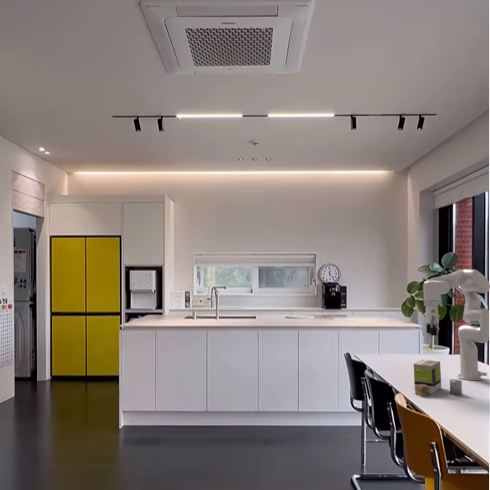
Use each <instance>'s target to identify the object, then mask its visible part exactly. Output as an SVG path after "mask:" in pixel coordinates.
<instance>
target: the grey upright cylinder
mask: <svg viewBox="0 0 490 490" xmlns="http://www.w3.org/2000/svg"><path fill="white" fill-rule="evenodd" d="M462 383H463V382H462V379H455V378H452V379H449V390H450V391H449V393H450V395H452V396H462V395H463V391H462V390H463V387H462V386H463V385H462Z"/></svg>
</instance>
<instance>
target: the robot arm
mask: <svg viewBox="0 0 490 490" xmlns="http://www.w3.org/2000/svg"><path fill="white" fill-rule="evenodd" d="M422 287H423V306H424V307H425V322H426V334H430V336H438V329H437V328H438V327H437V325H439V311H438V307H439V295H445V294H448V293H449V292H450V290H451V289H456V288H458V287H460V290H461V291H462V294H463V296H464V298H465V303H464V308H463V315H462V320H463V321H464V322H465V323H467V324H462V325H460V326H459V327H458V329H457V335H458V341H459V357H460V358H459V361H460V374H459V373H458V375H457V377H458V378H459V379H460V380H467V381H481V380H482V376H483V377H488V373H487V372H482V371H479V361H478V359H479V358H478V357H479V356H478V354H479V353H478V346H477V345H476V343H481V344H485V343H488V341H489V340H490V337H489V311H490V310H489V309H487V308H481V305H482V304H481V303H482V301H481V298H480V297H479V295H478V294H486V293H488V292H489V291H490V281H489V280H488V279H487V278H486V276H485V275H484V274H483V273H481V272H480V271H479V270H477V269H458V270H456V271H454V272H451V273H449V274H444V275H441V276H436V277H432V278H429V279H427V280H426V281H424V282H423V286H422ZM470 324H471V325H470ZM478 325H479V326H478Z"/></svg>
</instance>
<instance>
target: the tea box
mask: <svg viewBox="0 0 490 490" xmlns="http://www.w3.org/2000/svg"><path fill="white" fill-rule="evenodd" d="M441 373H442V372H441V361H439V360H432V359H431V360H430V359H421V360H419V361H417V362H416V363H413V378H414V379H413V380H414V386H415V385H416V384H425V385H427V386H429V388H430V394H434V393H436V392H437V391H439V390H440V389H441V388H442V374H441Z"/></svg>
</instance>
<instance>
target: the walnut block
mask: <svg viewBox="0 0 490 490" xmlns="http://www.w3.org/2000/svg"><path fill="white" fill-rule="evenodd" d="M414 391H415V392H414V393H415V395H416V396H419V397H422V398H423V397H430V396H431V393H430V388H429V386H427V385H425V384H416V385H415V384H414Z"/></svg>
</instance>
